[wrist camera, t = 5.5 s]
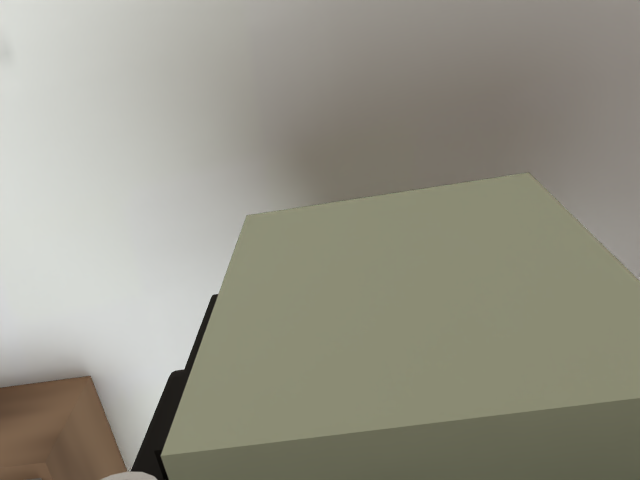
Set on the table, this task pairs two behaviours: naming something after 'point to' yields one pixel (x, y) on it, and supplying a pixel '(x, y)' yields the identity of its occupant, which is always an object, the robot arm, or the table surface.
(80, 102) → the table surface
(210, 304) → the robot arm
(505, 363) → the sage block
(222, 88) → the table surface
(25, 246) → the table surface
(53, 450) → the walnut block
